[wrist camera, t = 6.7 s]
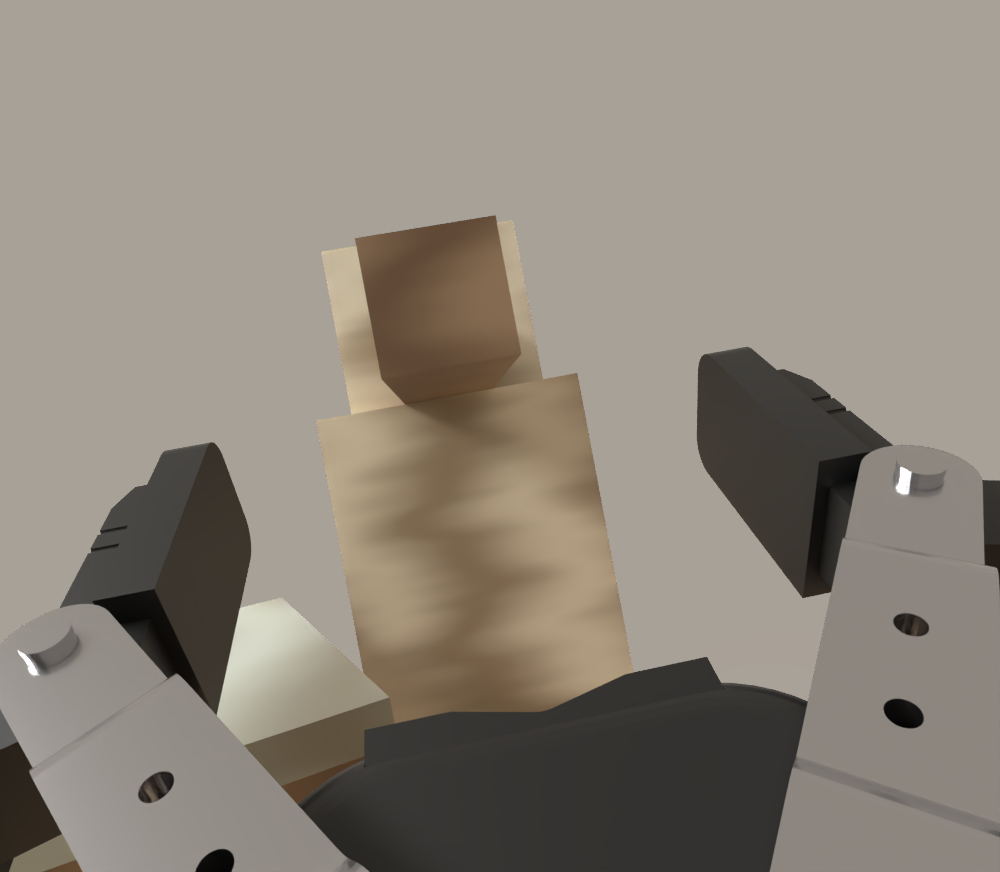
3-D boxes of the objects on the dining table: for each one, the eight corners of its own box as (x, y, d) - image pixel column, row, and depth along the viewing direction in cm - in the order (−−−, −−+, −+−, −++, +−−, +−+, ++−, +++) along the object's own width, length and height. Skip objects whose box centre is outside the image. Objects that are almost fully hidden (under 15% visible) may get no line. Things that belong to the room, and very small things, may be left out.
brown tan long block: (285, 396, 15) (231, 111, 15) (371, 423, 33) (347, 292, 33) (612, 337, 16) (561, 62, 16) (522, 395, 34) (498, 266, 34)
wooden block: (495, 1431, 24) (305, 422, 24) (480, 1152, 34) (344, 428, 34) (771, 1350, 25) (587, 370, 25) (680, 1099, 35) (547, 391, 35)
